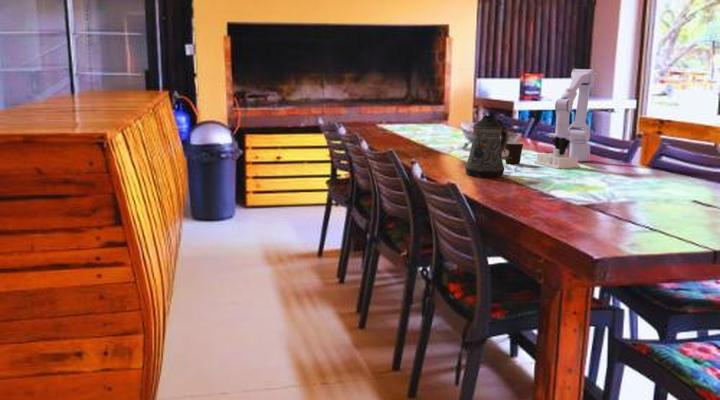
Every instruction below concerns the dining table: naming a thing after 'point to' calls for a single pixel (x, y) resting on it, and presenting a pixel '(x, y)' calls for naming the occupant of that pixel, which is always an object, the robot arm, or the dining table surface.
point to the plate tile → (557, 154)
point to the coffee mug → (513, 152)
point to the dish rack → (557, 161)
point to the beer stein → (487, 149)
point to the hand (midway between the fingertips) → (560, 154)
